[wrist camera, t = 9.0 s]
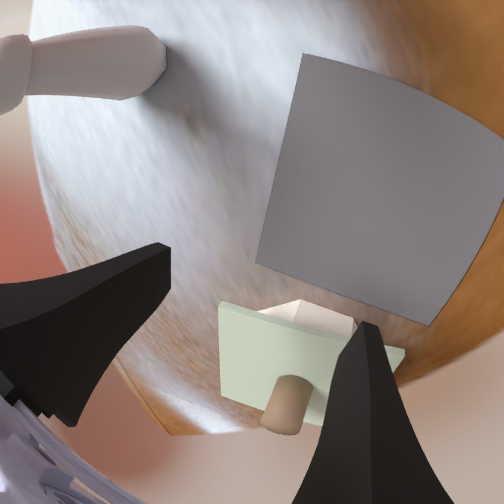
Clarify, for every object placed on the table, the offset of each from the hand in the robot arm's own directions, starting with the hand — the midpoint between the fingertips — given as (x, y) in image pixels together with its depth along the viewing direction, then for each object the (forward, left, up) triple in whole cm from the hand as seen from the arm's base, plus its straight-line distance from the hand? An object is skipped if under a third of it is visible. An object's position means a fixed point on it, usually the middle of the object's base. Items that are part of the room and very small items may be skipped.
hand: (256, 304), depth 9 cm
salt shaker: (+14, -8, -10) cm, 19 cm away
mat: (-5, -2, -10) cm, 11 cm away
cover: (-4, +12, -6) cm, 14 cm away
